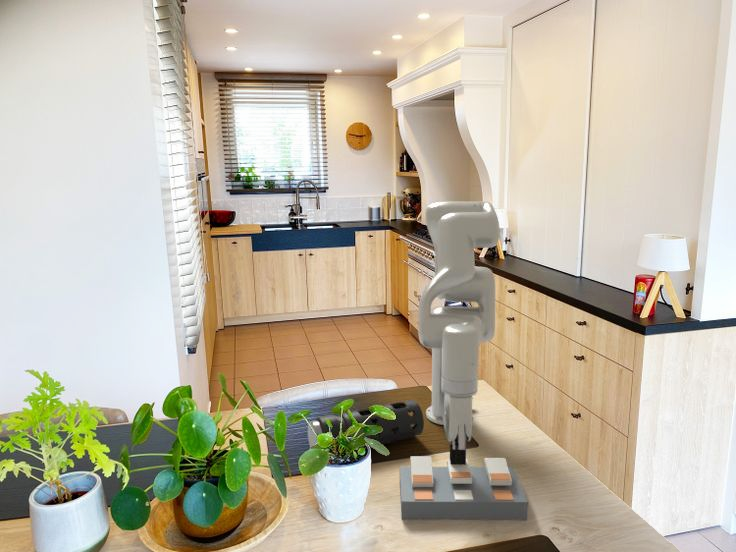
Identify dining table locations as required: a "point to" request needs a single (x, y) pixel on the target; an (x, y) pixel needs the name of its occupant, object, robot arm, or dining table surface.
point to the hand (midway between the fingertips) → (457, 463)
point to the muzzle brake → (375, 423)
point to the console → (462, 498)
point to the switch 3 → (497, 471)
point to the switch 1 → (421, 471)
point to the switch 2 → (459, 473)
